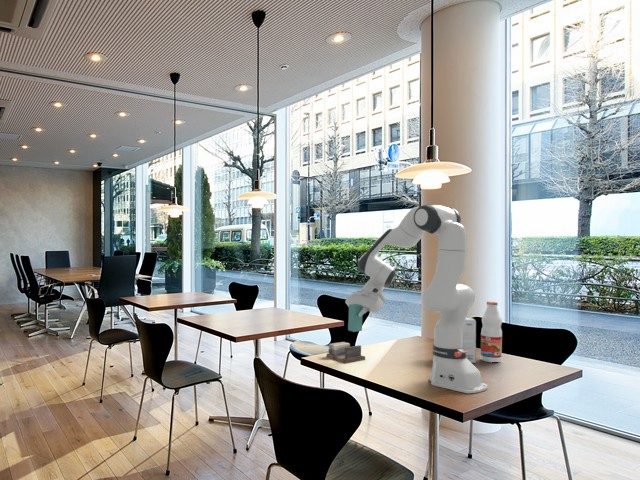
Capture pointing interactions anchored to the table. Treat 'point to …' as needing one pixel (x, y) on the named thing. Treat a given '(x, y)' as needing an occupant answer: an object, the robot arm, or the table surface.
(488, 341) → the fruit juice
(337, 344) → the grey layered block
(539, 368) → the table surface
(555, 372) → the table surface
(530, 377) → the table surface
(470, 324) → the hard drive box
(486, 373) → the table surface
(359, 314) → the robot arm
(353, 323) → the teal rectangular block
